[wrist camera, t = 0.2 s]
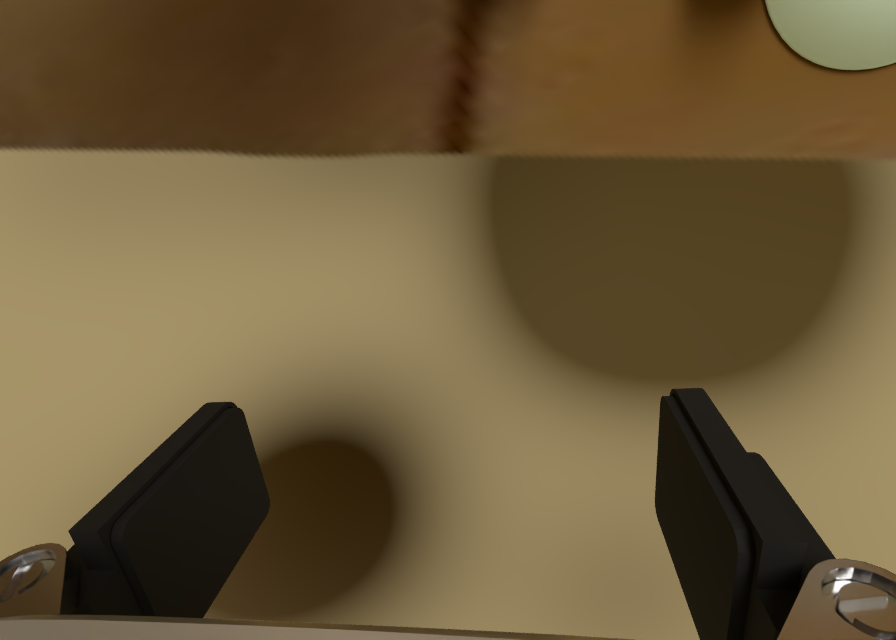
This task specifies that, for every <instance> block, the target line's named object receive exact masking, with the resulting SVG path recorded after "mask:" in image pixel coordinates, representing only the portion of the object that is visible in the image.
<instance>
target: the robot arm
mask: <svg viewBox="0 0 896 640" xmlns="http://www.w3.org/2000/svg"><path fill="white" fill-rule="evenodd" d="M269 506H270V499H269V495H268V492H267V488H266V485H265V482H264V479H263V475H262V472H261V469H260V465H259V462H258V459H257V455H256V452H255V448H254V445H253V442H252V438H251V435H250V432H249V429H248V425H247V422H246V418H245V415H244V412H243V411H242V409H240V408H237V406H236V405H235V404H234V403H232V402H211V403H206V404H205V405H203V406H202V407H201V408H200V409H199V410H198V411H197V412H196V413H195V414H193V415H192V416H191V417H190V418H189V419H188V420H187V421H186V422H185V423H184V424H183V425H182V426H181V427H179V428H178V430H176V431H175V432H174V433H173V434H172V435H171V436H170V437H169V438H168V439H167V440H165V441H164V442H163V444H161V445H160V446H159V447H158V448H157V449H156V450H155V451H154V452H153V453H151V454H150V456H148V457H147V458H146V459H145V460H144V461H143V462H142V463H141V464H140V465H139V466H138V467H136V468H135V469H134V470H133V471H132V472H131V473H130V474H129V475H128V476H127V477H126V478H125V479H124V480H122V481H121V482H120V483H119V484H118V485H117V486H116V487H115V488H114V489H113V490H112V491H111V492H110V493H108V494H107V495H106V496H105V497H104V498H103V499H102V500H101V501H100V502H99V503H98V504H97V505H96V506H95V507H93V509H91V510H90V511H89V512H88V513H87V514H86V515H85V516H84V517H83V518H82V519H81V520H79V521H78V522H77V523H76V524H75V525H74V526H73V527H72V528H71V529H70V530H69V533H70V535H71V537H72V539H73V541H74V543H75V544H74V545H73V546H72V547H71V548H70V549H69V551H66V549H65V548H64V547H63V546H61V545H60V544H55V543H46V544H40V545H35V546H32V547H29V548H26V549H23V550H21V551H19V552H17V553H15V554H13V555H11V556H9V557H7V558H5V559H3V560H2V561H1V562H0V640H632V639H618V638H601V637H587V636H573V635H556V634H537V633H536V634H535V633H515V632H497V631H475V630H457V629H436V628H418V627H416V628H415V627H395V626H374V625H373V626H372V625H352V624H329V623H306V622H283V621H259V620H234V619H208V618H203V617H204V615H205V614H206V612H207V611H208V609H209V607H210V606H211V604H212V603H213V601H214V599H215V598H216V596H217V595H218V593H219V591H220V590H221V588H222V586H223V585H224V583H225V582H226V580H227V578H228V577H229V575H230V574H231V572H232V570H233V569H234V567H235V566H236V564H237V562H238V561H239V559H240V557H241V556H242V554H243V553H244V551H245V549H246V548H247V546H248V545H249V543H250V541H251V540H252V538H253V537H254V535H255V533H256V532H257V530H258V529H259V527H260V525H261V524H262V522H263V520H264V519H265V517H266V516H267V514H268V511H269ZM655 508H656V513H657V518H658V521H659V524H660V527H661V530H662V532H663V535H664V538H665V541H666V544H667V547H668V549H669V552H670V555H671V558H672V561H673V564H674V567H675V569H676V572H677V575H678V578H679V581H680V584H681V587H682V589H683V592H684V595H685V598H686V601H687V604H688V607H689V609H690V612H691V615H692V618H693V621H694V624H695V626H696V629H697V632H698V635H699V638H700V640H896V575H895V574H893V573H892V572H890V571H888V570H886V569H883V568H881V567H878V566H875V565H872V564H869V563H866V562H862V561H856V560H850V559H836V558H835V557H834V555H833V554H832V553H831V551H830V550H829V549H828V547H827V546H826V545H825V543H824V542H823V540H822V539H821V537H820V536H819V535H818V534H817V532H816V530H815V529H814V528H813V526H812V525H811V524H810V522H809V521H808V519H807V518H806V517H805V515H804V514H803V513H802V511H801V510H800V508H799V507H798V505H797V504H796V503H795V501H794V500H793V499H792V497H791V496H790V494H789V493H788V492H787V490H786V489H785V487H784V486H783V485H782V483H781V482H780V481H779V479H778V478H777V476H776V475H775V474H774V472H773V471H772V469H771V468H770V467H769V465H768V464H767V462H766V461H765V460H764V459H763V458H762V456H761V455H760V454H757V453H755V452H753V453H752V452H750V453H748V452H746V451H745V449H744V448H743V446H742V445H741V443H740V442H739V440H738V439H737V437H736V436H735V434H734V433H733V432H732V430H731V429H730V427H729V426H728V424H727V423H726V421H725V420H724V418H723V417H722V415H721V414H720V413H719V411H718V410H717V408H716V407H715V405H714V404H713V402H712V401H711V399H710V398H709V396H708V395H707V394H706V392H705V391H704V390H703V389H702V388H686V389H672V390H671V392H670V396H662V397H661V402H660V419H659V436H658V455H657V473H656V490H655Z"/></svg>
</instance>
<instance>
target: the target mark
mask: <svg viewBox="0 0 896 640" xmlns="http://www.w3.org/2000/svg"><path fill="white" fill-rule="evenodd" d="M765 3H766V7H767V11H768V14H769V16H770V18H771V21H772V23H773V25H774V27H775V29H776V30H777V32H778V33H779V35H780V36H781V38H782V39H783V40H784V41H785V42H786V43H787V45H788V46H789V47H790V48H791V49H793V50H794V51H795V52H796V53H798V54H799V55H800V56H802V57H804V58H805V59H807V60H809V61H811V62H813V63H816V64H819V65H821V66H824V67H828V68H834V69H840V70H862V69H872V68H877V67H881V66H886V65H890V64H893V63H895V62H896V0H765Z"/></svg>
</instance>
